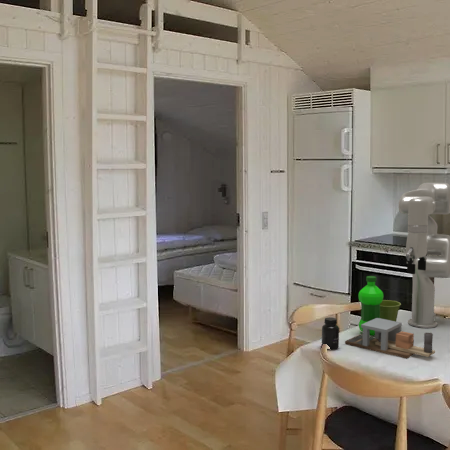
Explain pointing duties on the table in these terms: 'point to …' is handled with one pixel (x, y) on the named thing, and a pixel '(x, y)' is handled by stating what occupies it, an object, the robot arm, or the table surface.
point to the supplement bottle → (330, 333)
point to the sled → (410, 343)
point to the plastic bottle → (370, 302)
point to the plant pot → (389, 310)
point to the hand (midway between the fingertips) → (416, 271)
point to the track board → (376, 347)
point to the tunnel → (381, 331)
